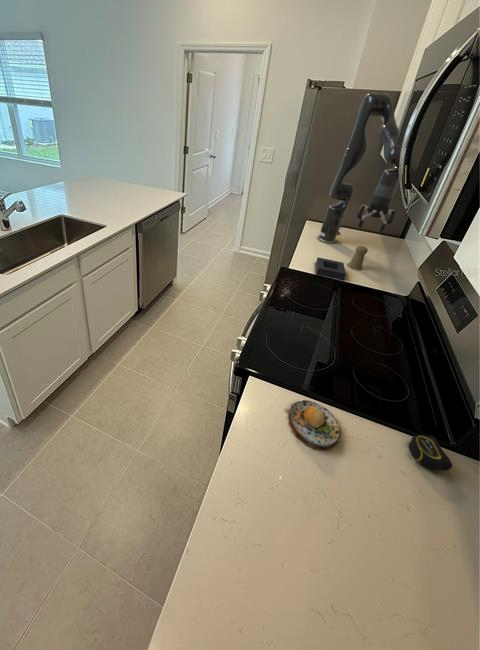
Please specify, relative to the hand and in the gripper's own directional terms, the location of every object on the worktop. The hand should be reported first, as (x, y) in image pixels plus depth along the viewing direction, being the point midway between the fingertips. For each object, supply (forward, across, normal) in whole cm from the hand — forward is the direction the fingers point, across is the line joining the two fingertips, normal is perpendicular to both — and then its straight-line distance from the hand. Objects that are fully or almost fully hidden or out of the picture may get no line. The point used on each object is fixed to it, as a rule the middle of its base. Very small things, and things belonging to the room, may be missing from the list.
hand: (369, 229), depth 143 cm
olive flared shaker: (+20, 0, 0) cm, 20 cm away
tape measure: (+21, -3, +98) cm, 100 cm away
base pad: (+20, +13, +12) cm, 27 cm away
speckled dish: (+21, +22, +100) cm, 104 cm away
